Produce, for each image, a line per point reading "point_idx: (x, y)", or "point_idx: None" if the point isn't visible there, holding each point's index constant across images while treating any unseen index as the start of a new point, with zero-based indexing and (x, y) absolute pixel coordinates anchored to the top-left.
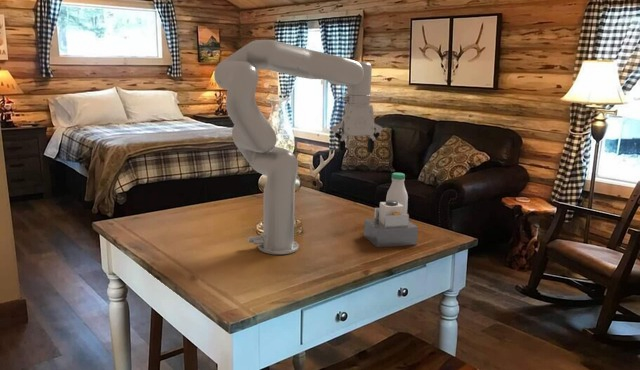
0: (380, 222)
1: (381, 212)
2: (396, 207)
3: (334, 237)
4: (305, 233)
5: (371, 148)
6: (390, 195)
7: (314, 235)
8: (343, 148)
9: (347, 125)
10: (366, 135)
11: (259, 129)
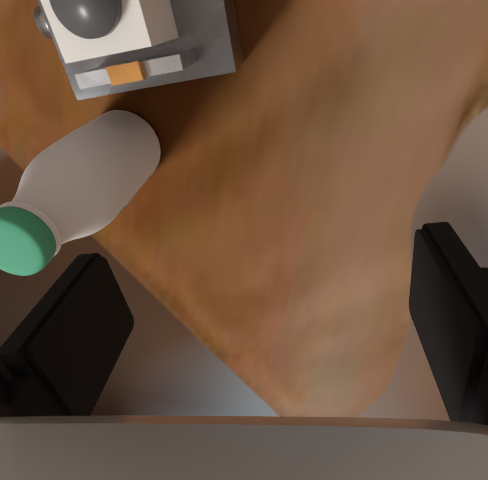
0: (174, 8)
1: (157, 10)
2: None
3: (361, 42)
4: (458, 97)
5: (71, 278)
6: (96, 173)
7: (432, 71)
8: (466, 253)
9: None
10: (29, 416)
11: None
